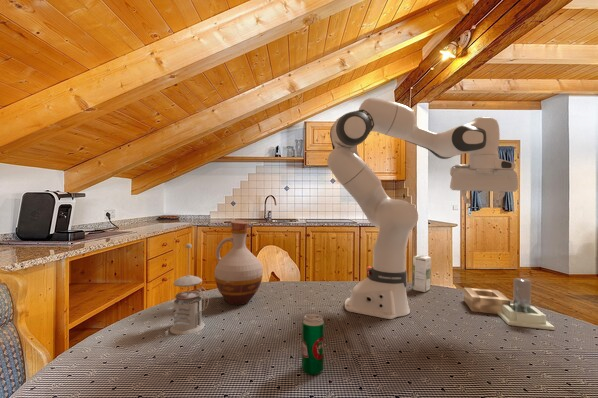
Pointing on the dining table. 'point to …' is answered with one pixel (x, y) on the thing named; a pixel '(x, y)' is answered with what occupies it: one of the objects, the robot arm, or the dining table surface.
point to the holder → (524, 318)
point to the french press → (188, 305)
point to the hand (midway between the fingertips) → (481, 204)
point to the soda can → (313, 344)
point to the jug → (238, 268)
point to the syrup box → (421, 273)
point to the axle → (522, 295)
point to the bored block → (485, 300)
